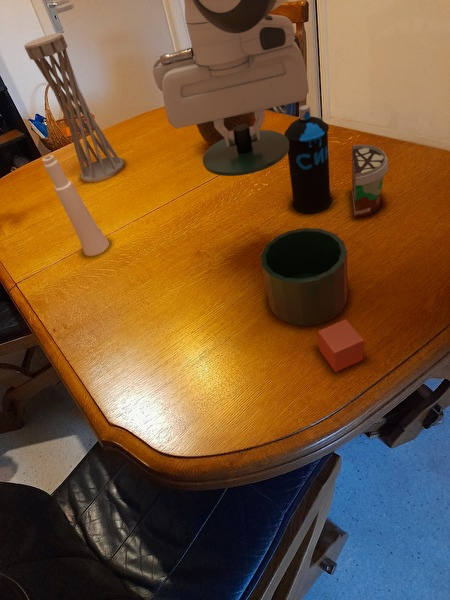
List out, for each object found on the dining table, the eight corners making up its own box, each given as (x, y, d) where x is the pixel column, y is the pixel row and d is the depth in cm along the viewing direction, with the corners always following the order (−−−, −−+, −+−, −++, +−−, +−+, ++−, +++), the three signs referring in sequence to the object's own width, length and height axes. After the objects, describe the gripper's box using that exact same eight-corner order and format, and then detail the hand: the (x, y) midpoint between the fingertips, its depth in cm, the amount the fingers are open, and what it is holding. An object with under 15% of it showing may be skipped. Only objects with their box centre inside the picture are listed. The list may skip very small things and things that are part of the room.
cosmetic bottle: (112, 247, 91) (65, 155, 76) (88, 260, 90) (35, 168, 75) (105, 236, 95) (59, 147, 80) (81, 248, 94) (30, 159, 79)
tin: (338, 267, 71) (336, 222, 64) (354, 319, 62) (354, 273, 55) (266, 278, 73) (258, 236, 66) (272, 331, 64) (263, 288, 57)
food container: (389, 219, 77) (393, 171, 70) (355, 222, 79) (356, 175, 72) (382, 185, 85) (385, 139, 79) (351, 188, 87) (351, 144, 80)
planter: (205, 138, 123) (190, 82, 112) (261, 127, 120) (252, 68, 109) (200, 165, 111) (183, 105, 100) (262, 153, 108) (252, 90, 97)
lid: (284, 130, 67) (281, 101, 64) (295, 168, 58) (292, 136, 54) (205, 147, 69) (198, 119, 66) (202, 187, 60) (194, 157, 56)
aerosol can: (285, 201, 89) (274, 108, 75) (319, 188, 90) (313, 94, 76) (303, 218, 83) (294, 121, 69) (339, 204, 84) (337, 105, 70)
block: (346, 338, 60) (345, 318, 57) (363, 359, 57) (364, 340, 54) (319, 350, 59) (317, 331, 56) (335, 372, 56) (334, 353, 53)
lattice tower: (74, 175, 125) (9, 48, 101) (110, 156, 130) (56, 30, 106) (94, 186, 116) (27, 49, 92) (132, 165, 121) (78, 30, 97)
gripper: (145, 65, 52) (176, 165, 61) (306, 25, 49) (313, 137, 58) (151, 52, 56) (180, 147, 66) (299, 14, 53) (306, 120, 63)
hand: (243, 142), depth 62 cm, fingers closed on lid, 2 cm apart
